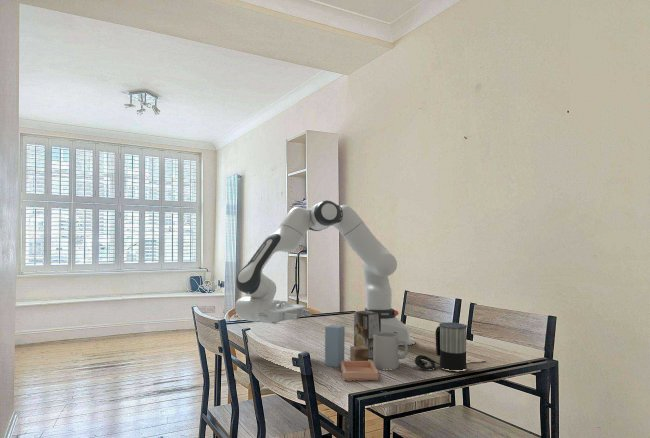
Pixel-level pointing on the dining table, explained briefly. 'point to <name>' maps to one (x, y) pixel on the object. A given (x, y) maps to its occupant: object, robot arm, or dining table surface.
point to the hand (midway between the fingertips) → (304, 315)
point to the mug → (387, 350)
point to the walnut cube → (359, 353)
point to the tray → (358, 370)
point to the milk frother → (448, 348)
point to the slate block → (334, 345)
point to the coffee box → (366, 329)
